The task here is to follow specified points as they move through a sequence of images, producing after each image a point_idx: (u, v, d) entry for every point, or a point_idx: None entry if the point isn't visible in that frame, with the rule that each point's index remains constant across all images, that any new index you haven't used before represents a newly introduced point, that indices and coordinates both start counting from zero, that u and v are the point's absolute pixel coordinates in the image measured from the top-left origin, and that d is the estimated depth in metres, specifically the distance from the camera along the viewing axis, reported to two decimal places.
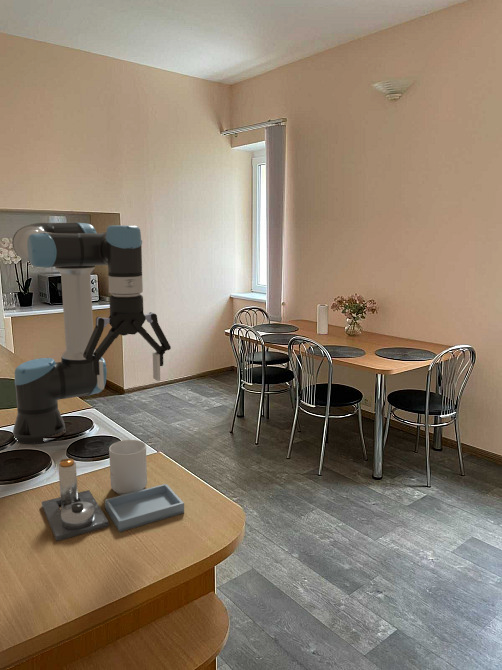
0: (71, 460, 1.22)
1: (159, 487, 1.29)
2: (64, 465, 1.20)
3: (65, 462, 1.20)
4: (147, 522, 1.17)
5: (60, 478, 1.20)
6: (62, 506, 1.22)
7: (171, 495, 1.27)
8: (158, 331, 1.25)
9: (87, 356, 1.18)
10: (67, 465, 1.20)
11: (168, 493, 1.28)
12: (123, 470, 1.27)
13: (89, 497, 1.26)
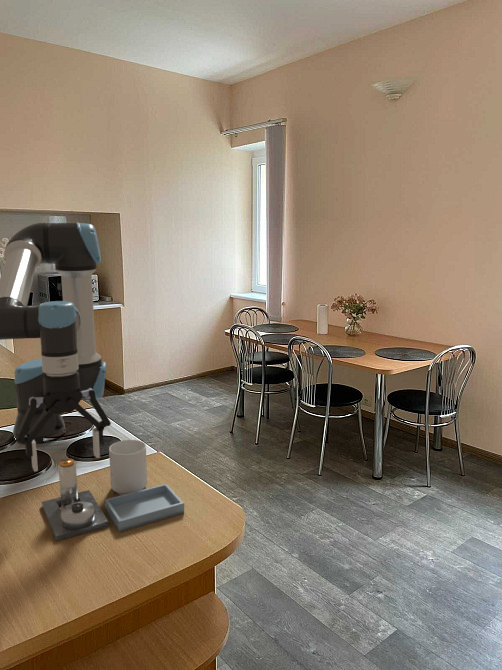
0: (71, 460, 1.21)
1: (159, 487, 1.29)
2: (64, 465, 1.20)
3: (65, 462, 1.20)
4: (147, 522, 1.17)
5: (60, 478, 1.20)
6: (62, 506, 1.22)
7: (171, 495, 1.27)
8: (96, 407, 1.21)
9: (18, 438, 1.13)
10: (67, 465, 1.20)
11: (168, 493, 1.28)
12: (123, 470, 1.27)
13: (89, 497, 1.26)
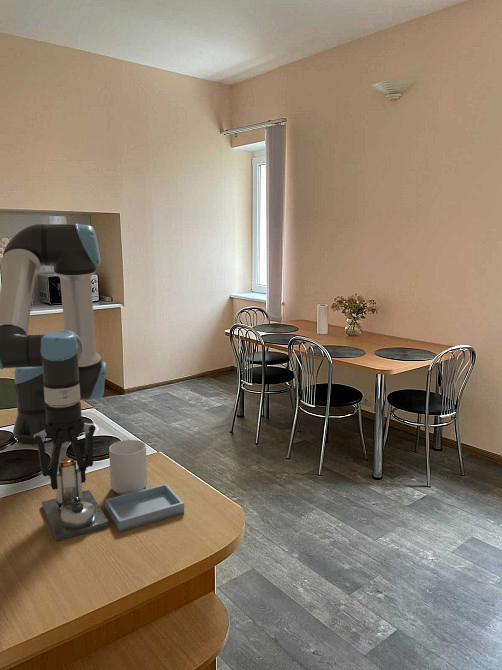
0: (71, 460, 1.22)
1: (159, 487, 1.29)
2: (64, 465, 1.20)
3: (65, 462, 1.20)
4: (147, 522, 1.17)
5: None
6: (62, 506, 1.22)
7: (171, 495, 1.27)
8: (89, 444, 1.22)
9: (44, 473, 1.18)
10: (67, 465, 1.20)
11: (168, 493, 1.28)
12: (123, 470, 1.27)
13: (89, 497, 1.26)
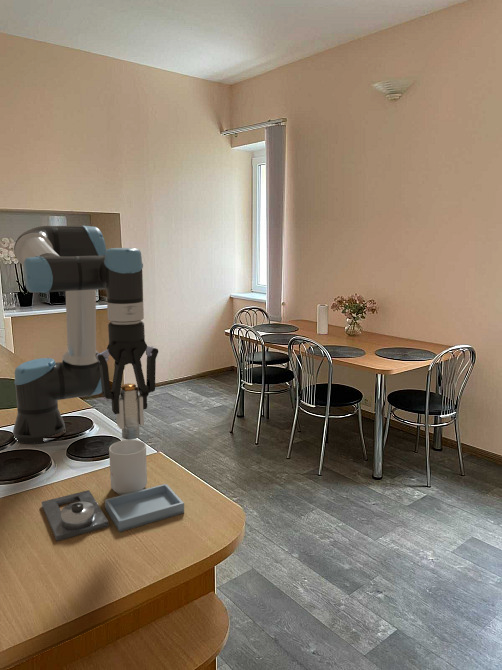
0: (133, 385, 1.16)
1: (159, 487, 1.29)
2: (126, 388, 1.15)
3: (127, 386, 1.15)
4: (147, 522, 1.17)
5: None
6: (123, 433, 1.17)
7: (171, 495, 1.27)
8: (151, 368, 1.17)
9: (106, 395, 1.13)
10: (129, 389, 1.15)
11: (168, 493, 1.28)
12: (123, 470, 1.27)
13: (89, 497, 1.26)
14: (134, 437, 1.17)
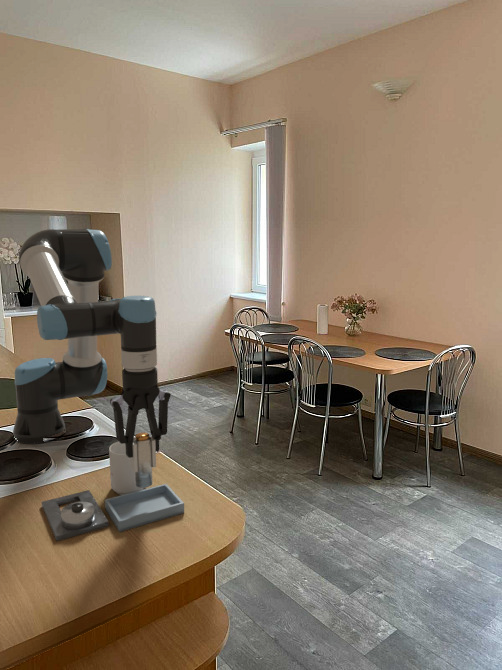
0: (146, 434, 1.19)
1: (159, 487, 1.29)
2: (140, 439, 1.17)
3: (141, 436, 1.18)
4: (147, 522, 1.17)
5: None
6: (137, 481, 1.19)
7: (171, 495, 1.27)
8: (164, 411, 1.19)
9: (121, 440, 1.15)
10: (143, 439, 1.17)
11: (168, 493, 1.28)
12: (123, 470, 1.27)
13: (89, 497, 1.26)
14: (147, 485, 1.19)
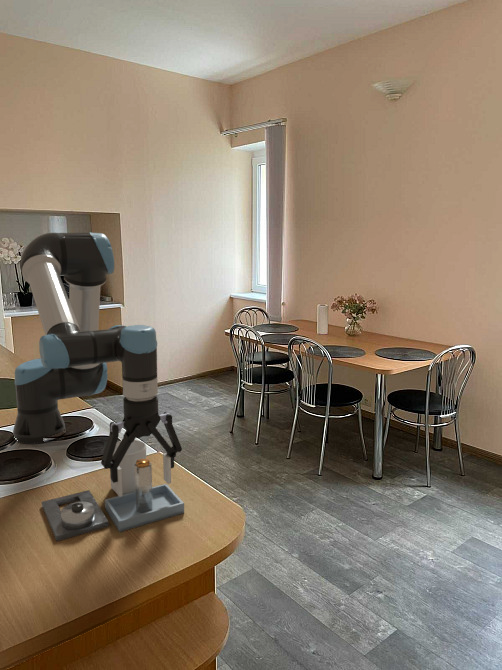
0: (147, 460, 1.20)
1: (159, 487, 1.29)
2: (141, 465, 1.19)
3: (141, 462, 1.19)
4: (147, 522, 1.17)
5: (136, 478, 1.19)
6: (137, 507, 1.21)
7: (171, 495, 1.27)
8: (171, 432, 1.21)
9: (105, 465, 1.14)
10: (144, 466, 1.19)
11: (168, 493, 1.28)
12: (123, 470, 1.27)
13: (89, 497, 1.26)
14: (148, 510, 1.21)
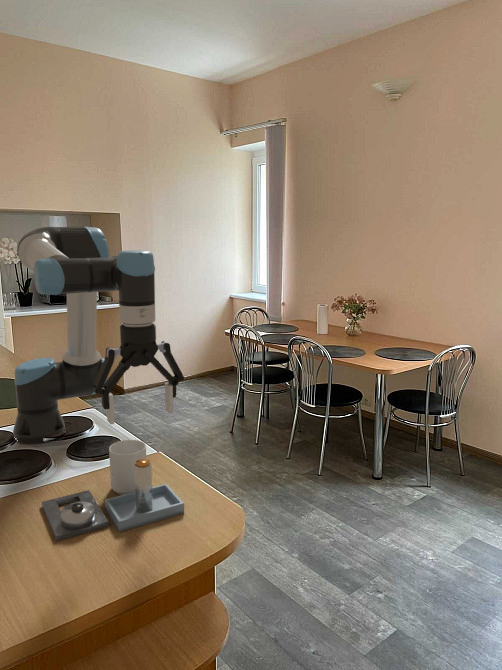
0: (147, 460, 1.20)
1: (159, 487, 1.29)
2: (141, 465, 1.19)
3: (141, 462, 1.19)
4: (147, 522, 1.17)
5: (136, 478, 1.19)
6: (137, 507, 1.21)
7: (171, 495, 1.27)
8: (171, 361, 1.18)
9: (96, 390, 1.11)
10: (144, 466, 1.19)
11: (168, 493, 1.28)
12: (123, 470, 1.27)
13: (89, 497, 1.26)
14: (148, 510, 1.21)
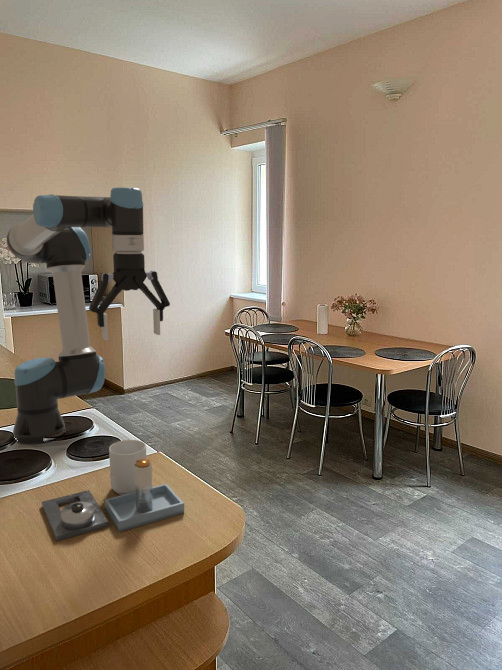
0: (147, 460, 1.20)
1: (159, 487, 1.29)
2: (141, 465, 1.19)
3: (141, 462, 1.19)
4: (147, 522, 1.17)
5: (136, 478, 1.19)
6: (137, 507, 1.21)
7: (171, 495, 1.27)
8: (158, 288, 1.35)
9: (93, 308, 1.27)
10: (144, 466, 1.19)
11: (168, 493, 1.28)
12: (123, 470, 1.27)
13: (89, 497, 1.26)
14: (148, 510, 1.21)
